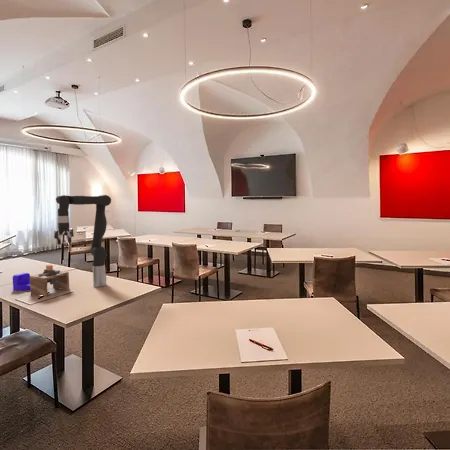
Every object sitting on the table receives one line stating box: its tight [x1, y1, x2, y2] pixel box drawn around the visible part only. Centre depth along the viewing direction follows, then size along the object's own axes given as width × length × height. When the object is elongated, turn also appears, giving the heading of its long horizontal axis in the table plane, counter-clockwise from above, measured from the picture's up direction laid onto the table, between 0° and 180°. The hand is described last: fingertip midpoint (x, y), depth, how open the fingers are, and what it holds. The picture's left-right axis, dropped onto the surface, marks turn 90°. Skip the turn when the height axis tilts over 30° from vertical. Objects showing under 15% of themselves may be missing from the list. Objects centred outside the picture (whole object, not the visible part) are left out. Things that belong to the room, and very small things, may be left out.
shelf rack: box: [30, 269, 70, 297], centre depth 224 cm, size 20×16×15 cm
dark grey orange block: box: [42, 264, 57, 286], centre depth 224 cm, size 4×9×14 cm, turn 67°
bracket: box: [12, 272, 31, 292], centre depth 231 cm, size 18×11×12 cm, turn 73°
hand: (64, 243), depth 219 cm, fingers open, 8 cm apart
